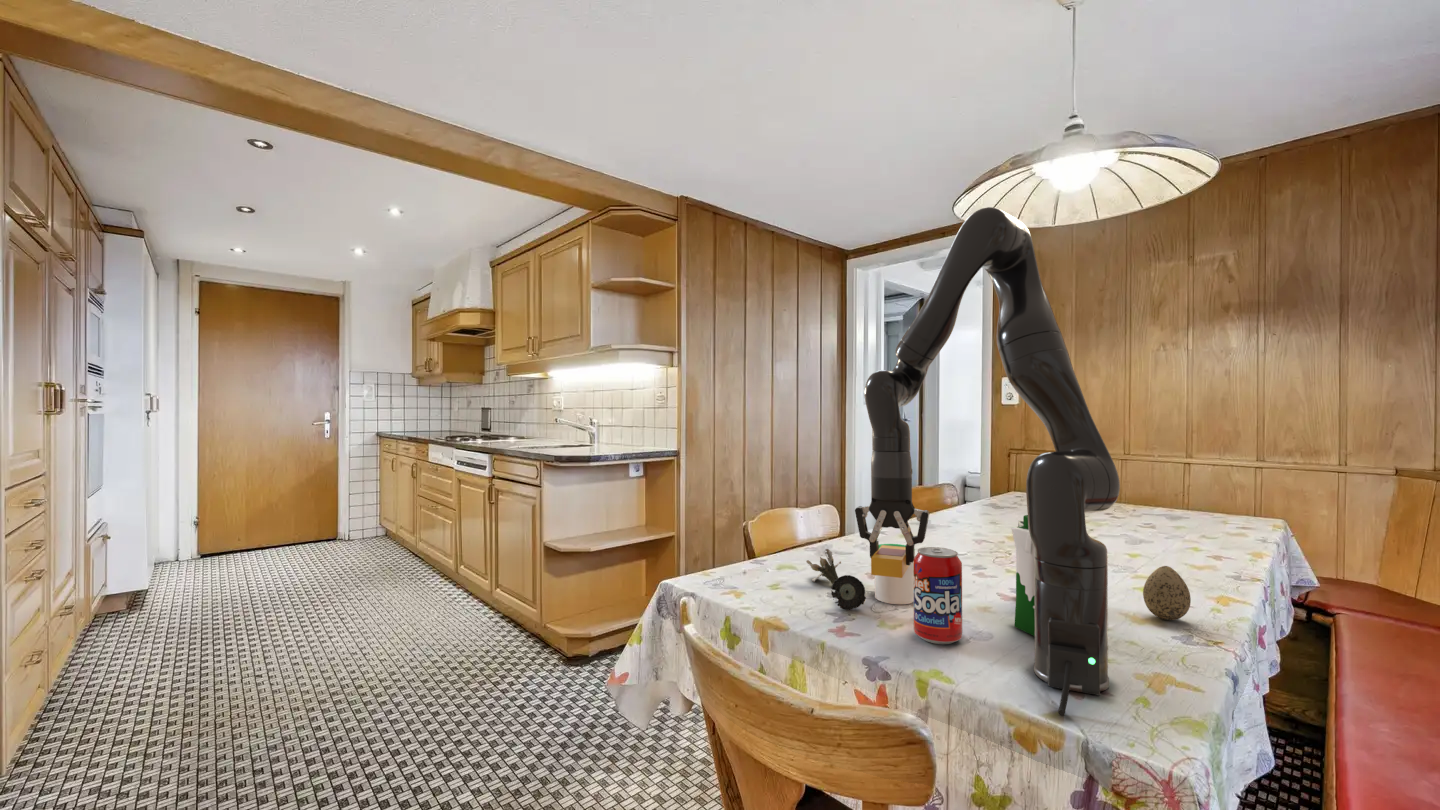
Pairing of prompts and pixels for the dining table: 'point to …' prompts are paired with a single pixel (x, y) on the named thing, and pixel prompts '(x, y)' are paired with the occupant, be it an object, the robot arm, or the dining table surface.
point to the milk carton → (1024, 579)
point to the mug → (896, 585)
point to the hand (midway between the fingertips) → (892, 562)
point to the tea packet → (889, 561)
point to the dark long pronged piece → (841, 584)
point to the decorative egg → (1166, 594)
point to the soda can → (938, 595)
